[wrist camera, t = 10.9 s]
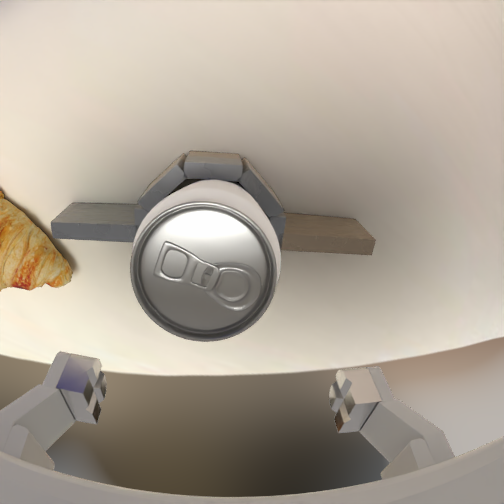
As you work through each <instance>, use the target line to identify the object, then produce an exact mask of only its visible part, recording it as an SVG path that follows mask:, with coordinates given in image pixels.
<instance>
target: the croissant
mask: <svg viewBox="0 0 504 504" xmlns="http://www.w3.org/2000/svg"><path fill="white" fill-rule="evenodd" d="M72 274H73V272H72V269H71V267H70V265H69V263H68V261H67V260H66V259H64V258H63V256H62V254H61V253H59V252H58V250H57V249H56V248H55V247H54V245H53V244H52V242H51V241H50V240H49V238H48V237H47V235H46V234H45V233H43V232H42V231H41V229H40V228H38V227H37V226H36V225H35V224H34V223H33V222H32V221H31V220H30V219H29V218H28V217H27V216H26V215H25V213H24V212H22V211H21V210H19V209H18V208H16V207H15V206H14V205H13V204H12V203H10V202H9V201H8V200H6V199H4V194H3V193H2V192H1V191H0V291H1V290H2V289H3V288H7V287H16V288H21V289H26V290H32V289H34V288H36V287H42V286H43V285H44V284H45V283H47V284H48V285H50V286H51V287H55V288H58V287H61V286H64V285H65V284H67V283H69V282H70V281H71V278H72Z"/></svg>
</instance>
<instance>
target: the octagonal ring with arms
mask: <svg viewBox="0 0 504 504" xmlns="http://www.w3.org/2000/svg"><path fill="white" fill-rule="evenodd" d="M188 156H200V157H217V158H231V159H240V156H239V154H232V153H218V152H201V151H190V152H189V154H188ZM180 158H181V160H182V161H183V162H184V163H185V160H186V158H187V156H186V155H185V154H184V153H183V154H182V155H181V156H180V157H179V158H178V159H177V160H176V161H174V162H173V163H172V164H171V165H170V166H169V167H168V168H167V169H166V170H165V171H164V172H162V173H161V174H160V175H159V176H158V177H157V178H156V179H155V180H154V181H153V182H152V183H151V184H150V185H149V186H148V188H149V187H150V186H151V185H152V184H153V183H154V182H155V181H156V180H158V179H159V178H160V177H161V176H162V175H163V174H164V173H165V172H166V171H167V170H168V169H169V168H170V167H172V166H173V165H174V164H175V163H176V162H177V161H178V160H179V159H180ZM241 162H242V165H243V166H244V165H245V164H246V163H248V164H249V165H250V166H251V168H252V169H253V170H254V171H255V172H256V173H257V175H258V176H259V177H260V178H261V179H262V181H263V182H264V183H265V184H266V185H267V187H268V188H269V189H270V190H271V191H272V193H273V194H274V195H275V196H276V194H275V193H274V191H273V190H272V189H271V188H270V186H269V185H268V184H267V183H266V182H265V180H264V179H263V178H262V177H261V176H260V174H259V173H258V172H257V171H256V170H255V168H254V167H253V166H252V165H251V164H250V163H249V161H248V160H247V159H246V158H245V157H244V158H243V159H242V160H241ZM148 188H147V189H148ZM147 189H146V190H147ZM146 190H145V191H146ZM276 198H277V196H276ZM277 199H278V198H277ZM261 209H262V208H261ZM262 210H263V209H262ZM263 212H264V213H265V211H264V210H263ZM284 214H285V216H286V223H285V229H284V233H283V236H282V234H281V236H282V237H283V238H282V240H283V241H281V242H282V244H279V246H280V247H281V245H282V247H281V248H280V250H289V251H307V252H325V253H343V254H361V255H372V252H373V248H374V245H375V241H376V240H375V239H374V238H373V237H372V236H371V235H370V234H369V233H368V232H367V231H366V229H365V228H364V227H363V226H362V225H361V224H360V223H359V222H358V221H357V220H356V219H350V218H340V217H329V216H318V215H307V214H295V213H284ZM279 238H280V240H281V237H279ZM280 240H279V243H281V242H280Z"/></svg>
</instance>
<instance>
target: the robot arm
mask: <svg viewBox="0 0 504 504" xmlns="http://www.w3.org/2000/svg"><path fill="white" fill-rule="evenodd" d="M101 367H102V365H101V362H100V359H97V358H92V357H87V356H82V355H77V354H71V353H66V352H61V351H60V352H59V353H57V354H56V357H55V359H54V361H53V363H52V365H51V367H50V369H49V371H48V374H47V376H46V378H45V380H44V382H43V384H42V385H40V384H39V385H37V386H36V387H34V388H33V389H31V390H30V391H28V392H27V393H26V394H24V395H23V396H21V397H19V398H18V399H17V400H15V401H14V402H12V403H11V404H10V405H8V406H6V407H5V408H3V409H2V410H0V504H504V436H503V437H501V438H498V439H496V440H494V441H492V442H490V443H488V444H486V445H483V446H481V447H479V448H477V449H474V450H472V451H469V452H467V453H464V454H462V455H459V456H457V457H455V456H454V454H453V452H452V449H451V447H450V445H449V443H448V441H447V439H446V437H445V434H444V432H443V431H442V430H440V429H439V428H438V427H436V426H435V425H434V424H432V423H431V422H429V421H428V420H426V419H425V418H424V417H422V416H421V415H420V414H418V413H417V412H416V411H414V410H412V409H411V408H410V407H409V406H407V405H406V404H404V403H403V402H402V401H400V400H399V399H396V400H395V398H394V396H393V394H392V392H391V389H390V387H389V385H388V383H387V381H386V379H385V377H384V374H383V372H382V370H381V368H379V367H366V368H352V369H340V370H339V371H338V372H337V375H336V379H337V381H336V382H335V383H333V384H332V386H331V388H330V393H329V402H330V406H331V409H332V410H333V411H335V412H336V415H335V418H334V420H335V423H336V427H337V430H338V433H344V432H354V431H360V433H361V434H362V435H363V436H364V437H365V438H366V439H367V440H368V441H369V442H370V443H371V444H372V445H373V446H374V447H375V448H376V449H377V450H378V451H379V452H380V453H381V454H382V455H383V456H384V457H385V458H386V459H387V460H388V461H389V462H390V464H389V465H388V466H387V467H386V468H385V469H384V470H383V471H382V472H381V477H382V480H379V481H375V482H370V483H366V484H361V485H356V486H351V487H345V488H339V489H333V490H327V491H319V492H312V493H303V494H293V495H281V496H265V497H203V496H185V495H175V494H165V493H155V492H148V491H142V490H135V489H129V488H123V487H118V486H113V485H108V484H103V483H98V482H94V481H90V480H86V479H82V478H78V477H74V476H71V475H67V474H63V473H60V472H57V471H53V469H54V466H55V464H54V462H53V460H52V459H51V458H50V457H49V456H48V455H47V453H46V452H45V451H46V450H47V449H48V448H49V447H50V446H51V445H52V444H53V443H54V442H55V441H56V440H57V439H58V438H59V437H60V436H61V435H62V434H63V433H64V432H65V431H66V430H67V429H68V428H69V427H71V426H72V425H73V424H74V423H75V420H76V421H82V422H86V423H92V424H97V423H98V419H99V415H100V412H101V408H100V405H99V403H100V402H101V401H103V400H104V398H105V394H106V378H105V375H104V373H102V372H101V371H100V370H101Z"/></svg>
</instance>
